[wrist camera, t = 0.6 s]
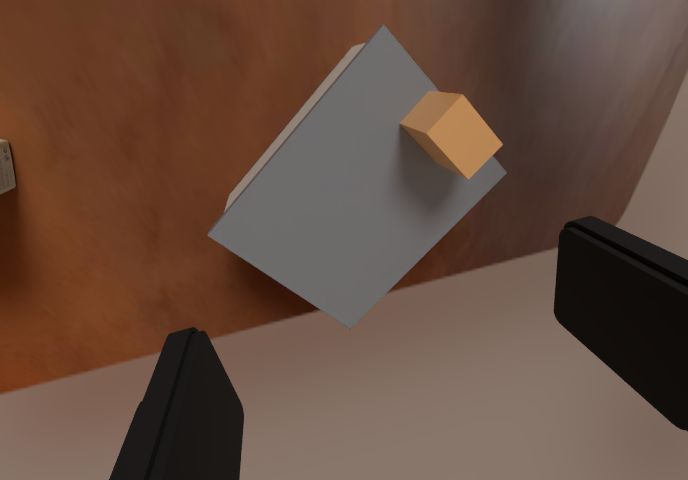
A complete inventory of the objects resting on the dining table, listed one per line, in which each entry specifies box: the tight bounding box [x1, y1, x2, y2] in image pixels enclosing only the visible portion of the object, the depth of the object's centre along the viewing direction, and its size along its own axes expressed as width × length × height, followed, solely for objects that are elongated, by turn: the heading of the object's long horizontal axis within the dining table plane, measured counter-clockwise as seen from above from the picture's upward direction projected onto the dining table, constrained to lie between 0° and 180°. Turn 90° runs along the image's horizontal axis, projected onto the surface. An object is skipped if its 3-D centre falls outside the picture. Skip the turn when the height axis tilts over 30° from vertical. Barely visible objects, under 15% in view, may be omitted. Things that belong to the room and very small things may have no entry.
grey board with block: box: [207, 25, 507, 329], centre depth 27 cm, size 19×15×7 cm
